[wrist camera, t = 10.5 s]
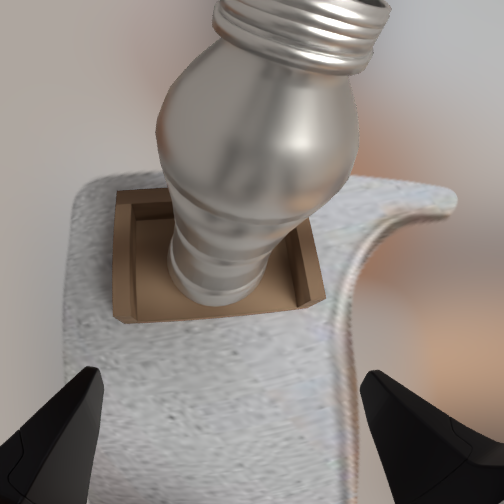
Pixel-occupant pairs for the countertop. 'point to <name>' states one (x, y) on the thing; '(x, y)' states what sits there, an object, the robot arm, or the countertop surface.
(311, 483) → the countertop surface
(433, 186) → the countertop surface
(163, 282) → the bottle stand
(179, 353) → the countertop surface
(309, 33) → the silver metal bottle
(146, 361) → the countertop surface
